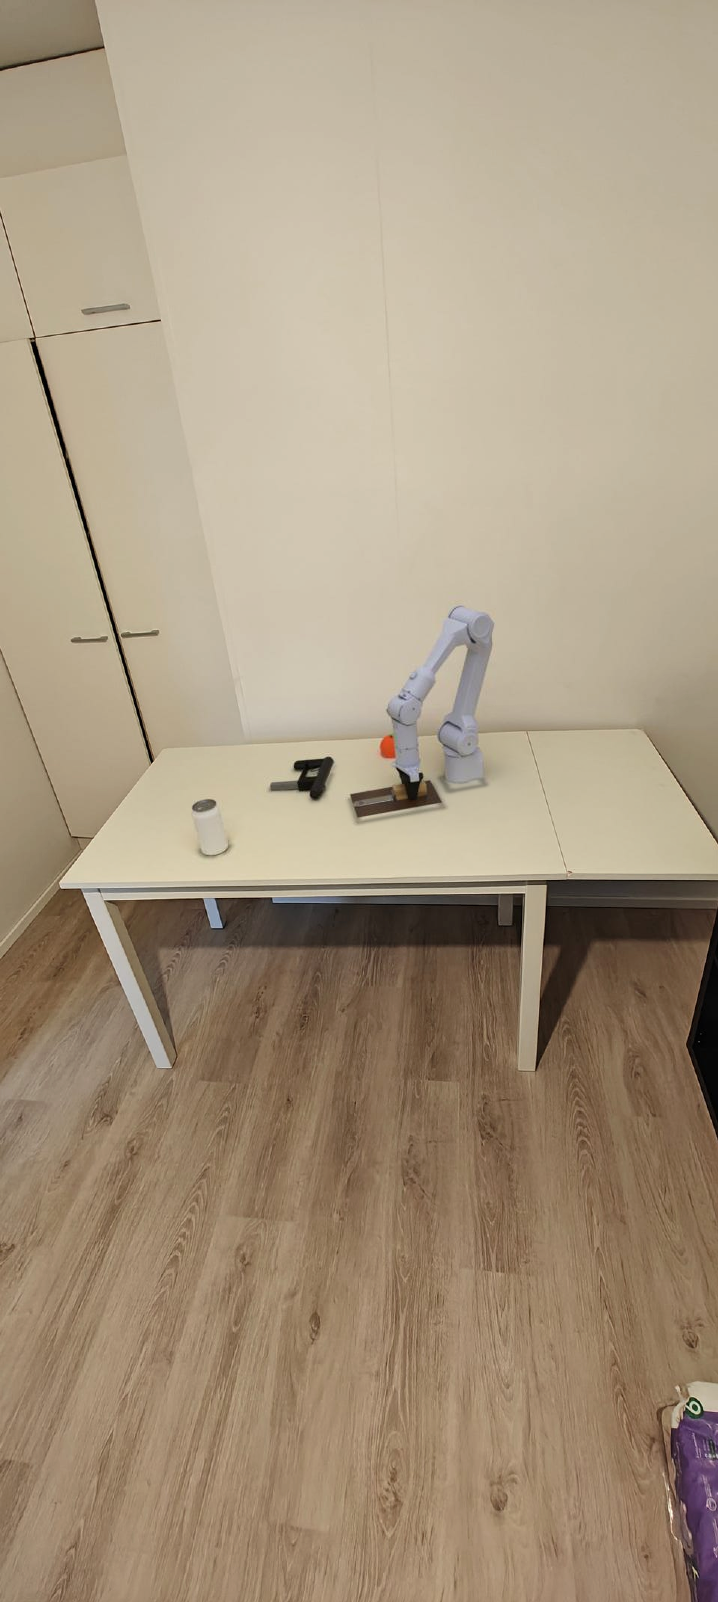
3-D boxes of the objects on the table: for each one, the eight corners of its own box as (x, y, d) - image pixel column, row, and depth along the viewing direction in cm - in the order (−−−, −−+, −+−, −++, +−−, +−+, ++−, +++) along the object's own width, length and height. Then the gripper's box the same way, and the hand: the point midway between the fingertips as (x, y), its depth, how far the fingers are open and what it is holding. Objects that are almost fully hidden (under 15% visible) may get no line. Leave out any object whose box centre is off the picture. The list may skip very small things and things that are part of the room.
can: (203, 843, 171) (191, 800, 165) (229, 839, 171) (219, 796, 165) (200, 858, 165) (188, 814, 159) (227, 854, 165) (216, 810, 159)
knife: (424, 790, 178) (423, 779, 177) (427, 795, 176) (426, 784, 174) (352, 802, 177) (351, 792, 175) (354, 808, 174) (353, 797, 173)
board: (430, 785, 183) (430, 779, 183) (442, 807, 173) (442, 802, 172) (350, 799, 181) (349, 794, 181) (358, 822, 171) (357, 817, 170)
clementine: (392, 749, 204) (389, 726, 200) (412, 753, 200) (410, 730, 196) (376, 760, 198) (373, 737, 195) (397, 765, 195) (394, 742, 191)
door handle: (263, 793, 184) (323, 789, 180) (282, 758, 201) (337, 753, 197) (266, 804, 186) (325, 800, 182) (284, 768, 202) (339, 764, 199)
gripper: (384, 735, 176) (389, 783, 182) (396, 760, 163) (400, 810, 170) (411, 730, 176) (415, 778, 183) (426, 755, 164) (429, 805, 171)
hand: (410, 793), depth 177 cm, fingers open, 4 cm apart
